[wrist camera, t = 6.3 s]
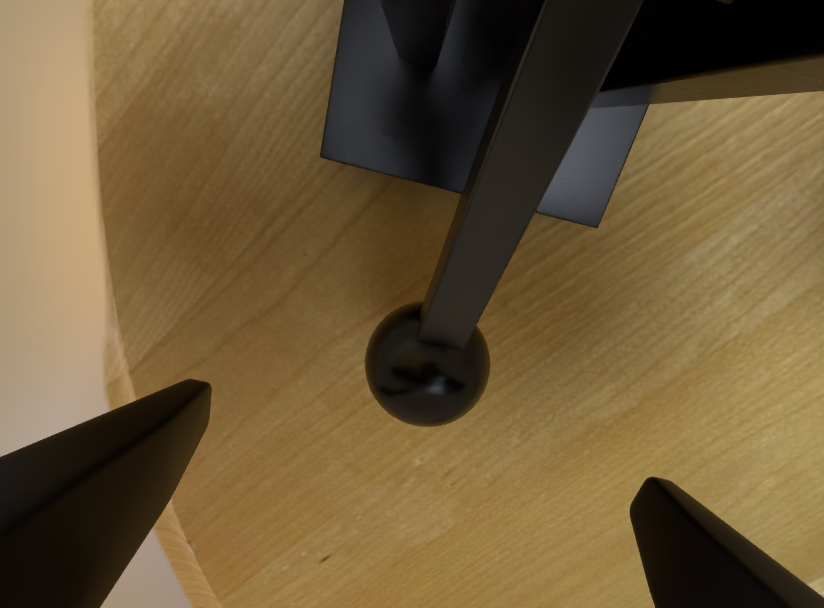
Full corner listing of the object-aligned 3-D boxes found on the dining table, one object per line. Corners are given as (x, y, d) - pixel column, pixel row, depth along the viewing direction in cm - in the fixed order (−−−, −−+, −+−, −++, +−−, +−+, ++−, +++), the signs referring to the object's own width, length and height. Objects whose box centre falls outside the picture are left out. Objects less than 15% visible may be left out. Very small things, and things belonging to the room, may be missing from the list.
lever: (469, 359, 14) (465, 458, 12) (369, 336, 13) (346, 434, 11) (897, -405, 4) (1351, -663, 2) (572, -536, 4) (678, -999, 2)
